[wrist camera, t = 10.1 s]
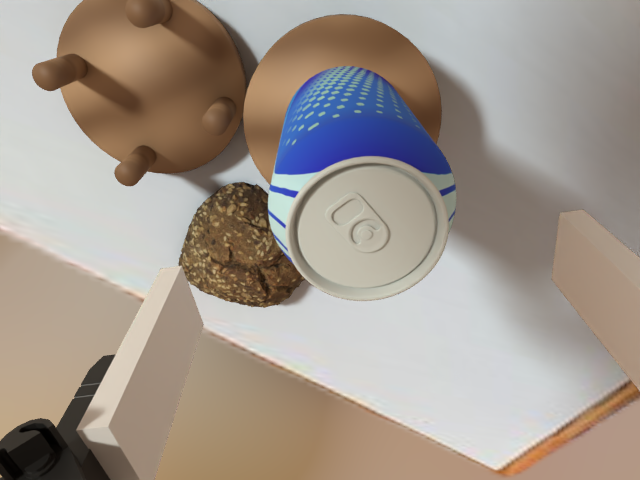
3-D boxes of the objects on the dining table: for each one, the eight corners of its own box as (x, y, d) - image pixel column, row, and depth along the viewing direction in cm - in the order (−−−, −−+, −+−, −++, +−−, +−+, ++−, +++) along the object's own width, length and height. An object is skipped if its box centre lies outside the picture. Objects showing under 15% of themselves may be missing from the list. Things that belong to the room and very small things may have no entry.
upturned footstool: (28, 46, 35) (-22, 58, 30) (173, -59, 31) (146, -66, 26) (147, 192, 41) (123, 223, 36) (279, 117, 38) (273, 139, 32)
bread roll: (166, 261, 45) (150, 291, 41) (224, 163, 40) (213, 185, 36) (275, 316, 49) (272, 349, 44) (341, 233, 44) (344, 260, 39)
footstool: (234, 27, 34) (220, 36, 29) (419, -5, 33) (439, -2, 28) (272, 194, 41) (266, 225, 36) (426, 171, 40) (443, 200, 35)
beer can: (408, 62, 30) (490, 132, 16) (398, 180, 34) (456, 316, 20) (282, 63, 30) (254, 134, 16) (287, 181, 34) (269, 319, 20)
